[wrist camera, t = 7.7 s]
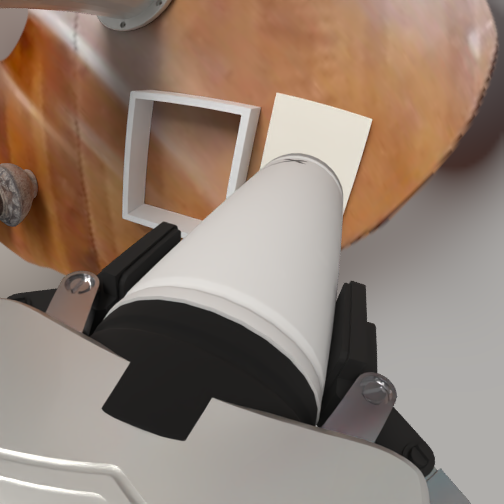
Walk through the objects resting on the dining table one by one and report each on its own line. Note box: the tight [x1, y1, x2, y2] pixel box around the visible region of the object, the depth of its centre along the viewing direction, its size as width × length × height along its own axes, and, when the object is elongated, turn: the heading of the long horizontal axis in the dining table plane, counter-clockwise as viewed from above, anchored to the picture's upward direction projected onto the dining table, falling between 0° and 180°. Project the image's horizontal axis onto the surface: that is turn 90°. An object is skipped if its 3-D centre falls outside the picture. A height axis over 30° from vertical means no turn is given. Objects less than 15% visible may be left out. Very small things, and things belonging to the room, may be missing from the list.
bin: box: [122, 90, 261, 238], centre depth 35 cm, size 16×14×4 cm
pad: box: [260, 93, 372, 213], centre depth 32 cm, size 12×10×1 cm
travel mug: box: [89, 153, 343, 441], centre depth 13 cm, size 6×7×20 cm
